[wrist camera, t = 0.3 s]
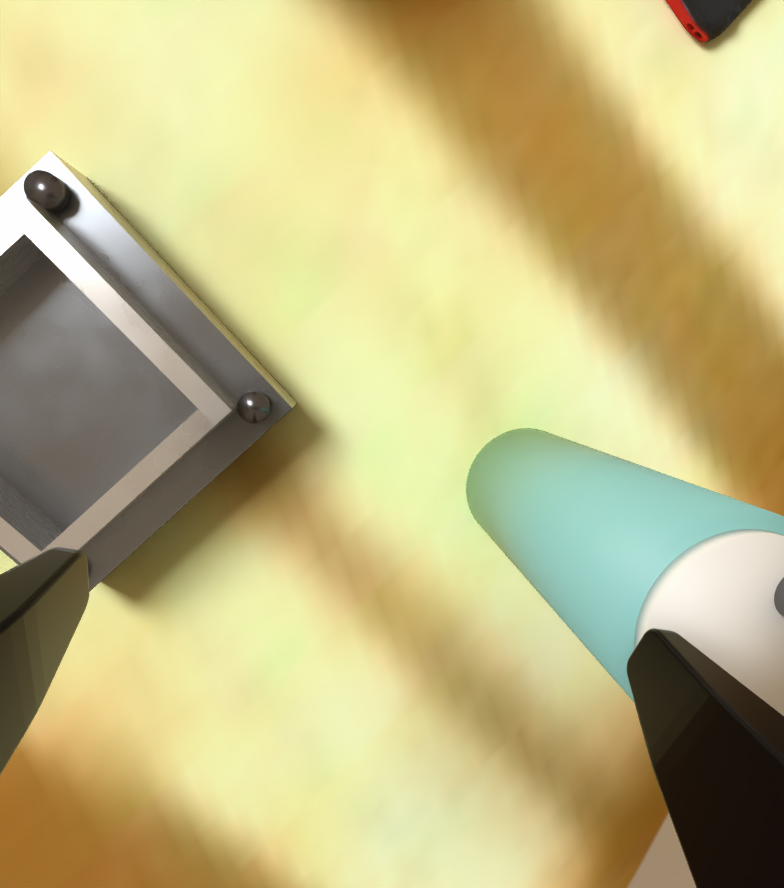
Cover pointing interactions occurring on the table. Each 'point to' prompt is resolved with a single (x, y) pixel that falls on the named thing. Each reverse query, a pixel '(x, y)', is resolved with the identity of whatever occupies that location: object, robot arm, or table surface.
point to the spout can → (637, 554)
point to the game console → (707, 15)
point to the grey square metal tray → (108, 378)
